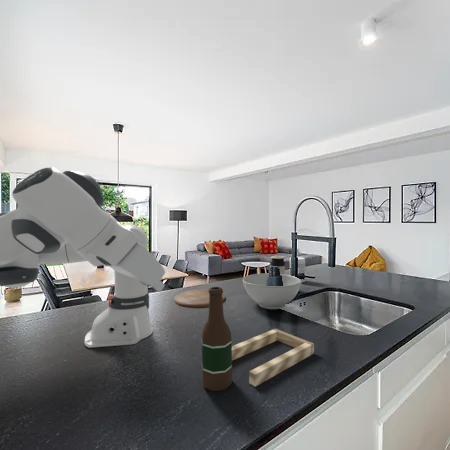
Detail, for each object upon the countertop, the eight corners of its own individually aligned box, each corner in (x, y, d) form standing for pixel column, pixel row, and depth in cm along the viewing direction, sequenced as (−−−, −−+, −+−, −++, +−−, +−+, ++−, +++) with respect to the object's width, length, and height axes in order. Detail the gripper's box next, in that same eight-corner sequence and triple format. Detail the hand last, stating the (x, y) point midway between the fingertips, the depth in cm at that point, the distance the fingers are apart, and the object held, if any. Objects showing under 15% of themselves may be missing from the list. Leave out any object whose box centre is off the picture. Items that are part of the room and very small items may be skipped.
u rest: (255, 386, 69) (254, 374, 69) (217, 362, 81) (216, 352, 80) (313, 353, 85) (313, 343, 85) (275, 337, 97) (275, 328, 97)
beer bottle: (229, 394, 66) (228, 293, 66) (197, 390, 68) (196, 291, 67) (234, 375, 74) (233, 284, 73) (206, 372, 76) (204, 283, 75)
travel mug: (286, 290, 157) (286, 257, 156) (271, 290, 157) (271, 257, 157) (283, 286, 165) (283, 255, 164) (269, 286, 165) (269, 255, 165)
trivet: (233, 303, 136) (233, 299, 136) (183, 311, 125) (183, 307, 125) (212, 290, 158) (212, 287, 158) (168, 297, 147) (168, 293, 147)
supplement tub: (308, 281, 177) (308, 257, 177) (300, 283, 171) (300, 259, 170) (294, 278, 184) (294, 256, 184) (286, 281, 178) (286, 258, 177)
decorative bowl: (257, 294, 150) (257, 271, 150) (308, 301, 136) (308, 276, 136) (232, 308, 127) (232, 281, 127) (290, 319, 113) (290, 289, 113)
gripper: (78, 250, 60) (125, 288, 66) (110, 262, 44) (168, 310, 50) (100, 228, 62) (143, 266, 69) (137, 232, 47) (189, 281, 53)
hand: (154, 285), depth 60 cm, fingers open, 5 cm apart
